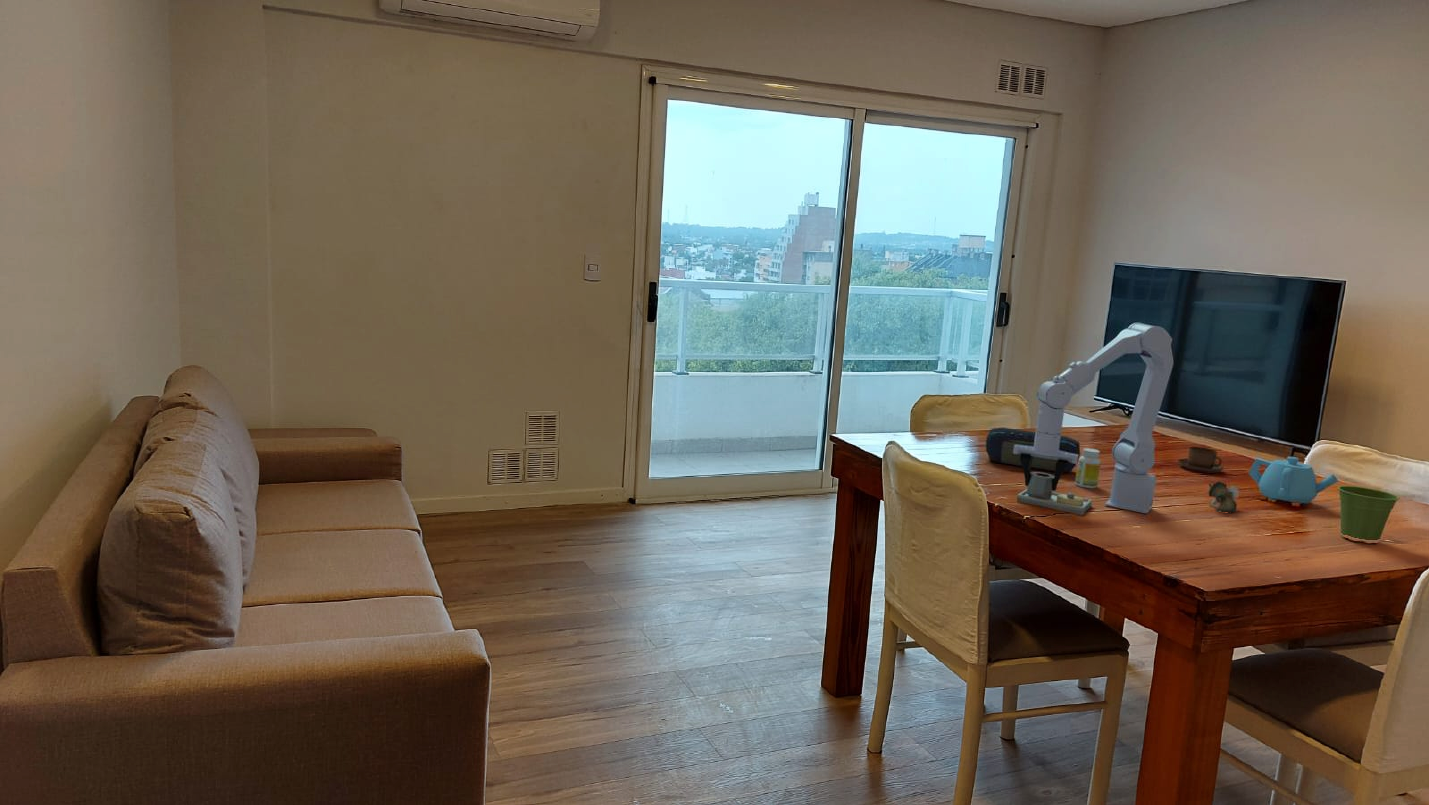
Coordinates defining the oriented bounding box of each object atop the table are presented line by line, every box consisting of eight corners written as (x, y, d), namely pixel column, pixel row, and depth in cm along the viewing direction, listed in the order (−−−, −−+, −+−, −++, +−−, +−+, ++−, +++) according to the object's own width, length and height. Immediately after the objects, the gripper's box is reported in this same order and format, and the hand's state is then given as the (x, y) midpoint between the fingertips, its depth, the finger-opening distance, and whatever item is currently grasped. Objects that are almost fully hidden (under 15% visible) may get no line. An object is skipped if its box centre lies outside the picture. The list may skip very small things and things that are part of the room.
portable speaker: (981, 463, 271) (985, 428, 269) (985, 456, 280) (990, 422, 278) (1076, 478, 262) (1081, 442, 260) (1077, 471, 271) (1082, 436, 269)
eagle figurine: (1195, 495, 247) (1199, 497, 238) (1218, 473, 245) (1222, 474, 236) (1223, 518, 244) (1227, 520, 235) (1245, 495, 243) (1251, 497, 234)
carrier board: (1091, 506, 233) (1093, 493, 232) (1082, 514, 224) (1084, 501, 224) (1027, 493, 241) (1029, 480, 240) (1016, 501, 232) (1018, 488, 232)
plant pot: (1395, 542, 222) (1405, 494, 220) (1383, 551, 213) (1393, 502, 211) (1336, 528, 230) (1345, 482, 228) (1322, 536, 222) (1331, 489, 220)
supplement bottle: (1070, 484, 254) (1076, 448, 252) (1081, 482, 257) (1087, 446, 255) (1090, 489, 250) (1095, 453, 248) (1100, 487, 253) (1106, 451, 251)
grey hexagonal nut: (1052, 495, 235) (1056, 475, 234) (1049, 500, 230) (1053, 479, 229) (1029, 490, 237) (1032, 470, 237) (1025, 494, 233) (1028, 474, 232)
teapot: (1239, 498, 252) (1246, 454, 250) (1250, 488, 265) (1258, 446, 263) (1328, 517, 240) (1337, 470, 238) (1336, 505, 253) (1345, 461, 251)
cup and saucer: (1227, 472, 285) (1231, 451, 284) (1216, 477, 276) (1219, 456, 275) (1184, 463, 293) (1187, 443, 292) (1171, 468, 284) (1175, 447, 283)
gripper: (1082, 434, 231) (1074, 489, 234) (1019, 424, 238) (1012, 478, 240) (1078, 439, 225) (1070, 495, 227) (1014, 429, 231) (1007, 484, 234)
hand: (1040, 487), depth 233 cm, fingers closed on grey hexagonal nut, 5 cm apart
